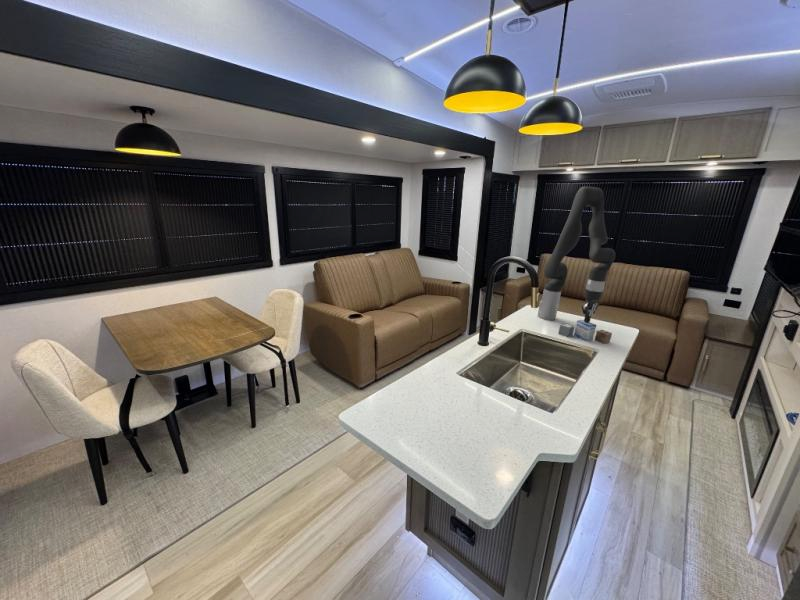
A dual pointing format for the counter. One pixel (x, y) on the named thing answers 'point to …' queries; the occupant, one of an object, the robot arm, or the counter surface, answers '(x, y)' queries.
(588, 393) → the counter surface
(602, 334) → the walnut block
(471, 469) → the counter surface
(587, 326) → the medicine box
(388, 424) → the counter surface
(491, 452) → the counter surface
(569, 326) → the slate block
